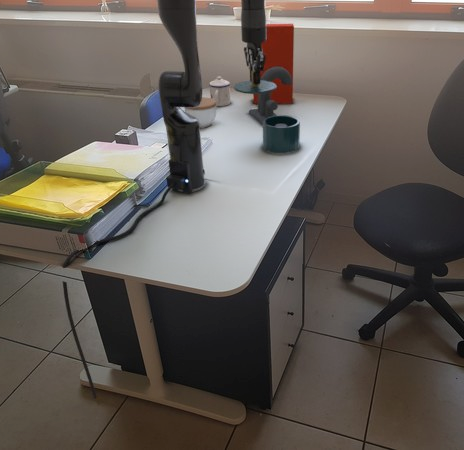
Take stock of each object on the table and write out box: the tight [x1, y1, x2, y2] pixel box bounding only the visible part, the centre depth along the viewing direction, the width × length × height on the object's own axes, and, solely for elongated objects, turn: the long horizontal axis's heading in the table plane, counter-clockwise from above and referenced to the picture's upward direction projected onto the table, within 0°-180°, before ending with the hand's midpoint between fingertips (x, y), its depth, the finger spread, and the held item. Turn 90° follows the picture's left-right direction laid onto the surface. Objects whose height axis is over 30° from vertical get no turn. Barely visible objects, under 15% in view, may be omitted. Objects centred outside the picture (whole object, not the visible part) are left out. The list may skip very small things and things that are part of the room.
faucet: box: [248, 67, 292, 126], centre depth 186 cm, size 18×16×20 cm
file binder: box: [252, 23, 295, 105], centre depth 201 cm, size 8×17×32 cm, turn 90°
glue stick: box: [275, 124, 287, 127], centre depth 161 cm, size 4×4×8 cm
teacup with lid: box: [208, 76, 231, 107], centre depth 203 cm, size 12×9×12 cm
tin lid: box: [233, 70, 276, 95], centre depth 148 cm, size 14×14×6 cm
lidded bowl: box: [183, 96, 217, 129], centre depth 181 cm, size 13×13×11 cm
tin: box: [262, 114, 301, 154], centre depth 161 cm, size 13×13×10 cm
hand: (255, 82), depth 148 cm, fingers closed on tin lid, 2 cm apart
